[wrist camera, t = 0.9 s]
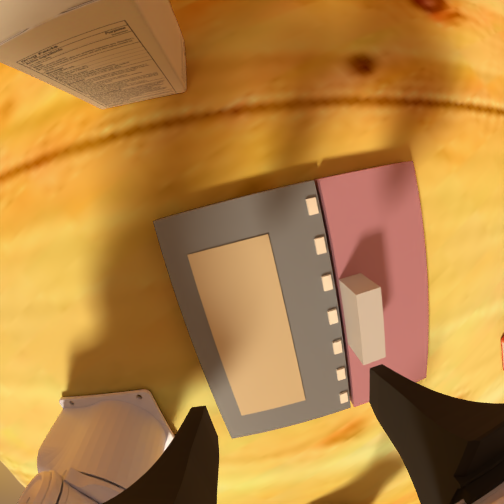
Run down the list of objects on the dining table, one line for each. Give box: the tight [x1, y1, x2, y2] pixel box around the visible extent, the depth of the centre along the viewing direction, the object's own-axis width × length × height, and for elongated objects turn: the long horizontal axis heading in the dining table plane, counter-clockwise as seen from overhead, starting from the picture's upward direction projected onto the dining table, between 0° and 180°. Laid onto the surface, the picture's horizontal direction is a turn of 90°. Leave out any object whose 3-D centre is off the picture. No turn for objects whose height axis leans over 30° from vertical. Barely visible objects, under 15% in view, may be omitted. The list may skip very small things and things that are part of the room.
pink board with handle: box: [314, 161, 428, 407], centre depth 20 cm, size 7×18×4 cm, turn 14°
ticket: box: [153, 180, 350, 438], centre depth 21 cm, size 10×18×1 cm, turn 14°
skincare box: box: [0, 0, 187, 109], centre depth 11 cm, size 6×4×12 cm
